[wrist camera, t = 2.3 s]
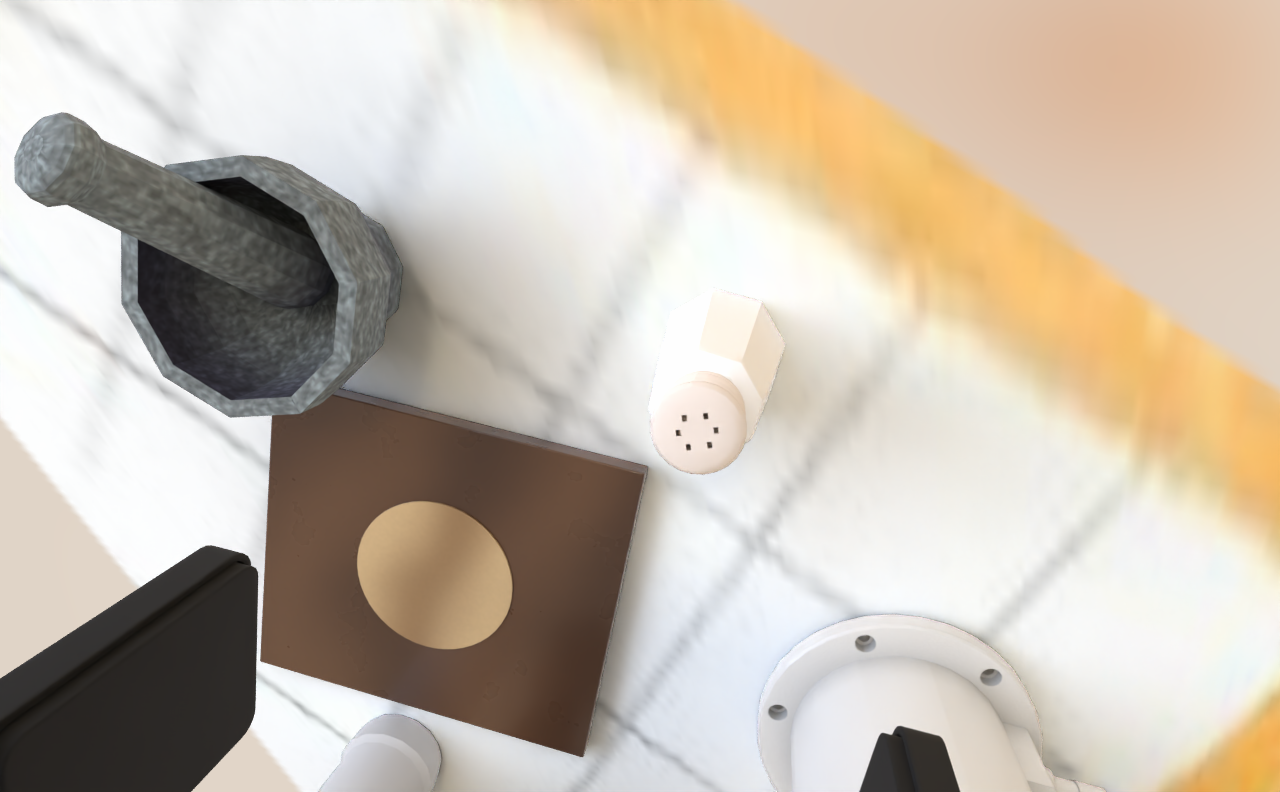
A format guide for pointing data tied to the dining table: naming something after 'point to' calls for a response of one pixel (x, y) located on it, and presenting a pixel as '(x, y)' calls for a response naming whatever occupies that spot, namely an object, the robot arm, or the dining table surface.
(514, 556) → the board
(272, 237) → the mortar and pestle
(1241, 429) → the dining table surface
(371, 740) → the bottle
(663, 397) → the pepper shaker
